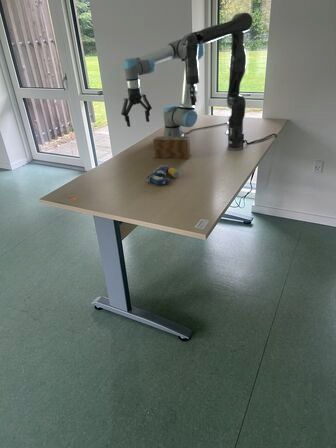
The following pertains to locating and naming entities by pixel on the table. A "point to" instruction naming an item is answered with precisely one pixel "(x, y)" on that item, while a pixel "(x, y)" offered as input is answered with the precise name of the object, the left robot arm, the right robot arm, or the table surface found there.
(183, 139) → the box
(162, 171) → the blue yellow printed carton
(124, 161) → the table surface
